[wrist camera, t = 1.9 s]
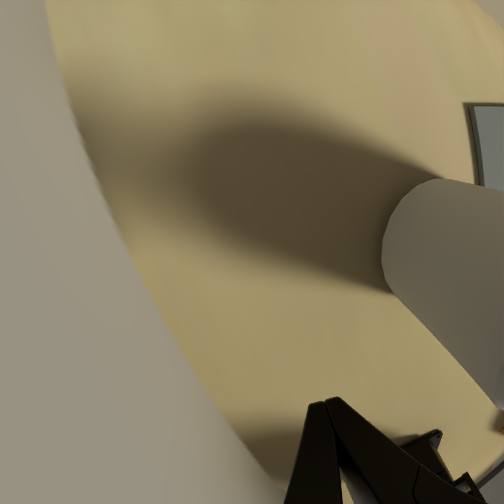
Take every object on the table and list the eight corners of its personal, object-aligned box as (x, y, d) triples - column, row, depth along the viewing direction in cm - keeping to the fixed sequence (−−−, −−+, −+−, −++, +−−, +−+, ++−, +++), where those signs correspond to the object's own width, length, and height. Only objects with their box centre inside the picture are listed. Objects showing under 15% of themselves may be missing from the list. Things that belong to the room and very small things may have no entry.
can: (353, 216, 15) (538, 345, 4) (454, 155, 14) (636, 192, 3) (397, 321, 17) (507, 466, 6) (482, 260, 16) (612, 347, 5)
